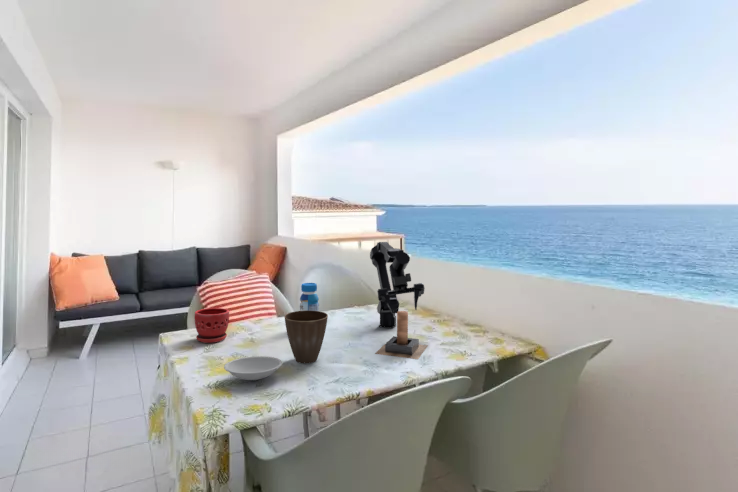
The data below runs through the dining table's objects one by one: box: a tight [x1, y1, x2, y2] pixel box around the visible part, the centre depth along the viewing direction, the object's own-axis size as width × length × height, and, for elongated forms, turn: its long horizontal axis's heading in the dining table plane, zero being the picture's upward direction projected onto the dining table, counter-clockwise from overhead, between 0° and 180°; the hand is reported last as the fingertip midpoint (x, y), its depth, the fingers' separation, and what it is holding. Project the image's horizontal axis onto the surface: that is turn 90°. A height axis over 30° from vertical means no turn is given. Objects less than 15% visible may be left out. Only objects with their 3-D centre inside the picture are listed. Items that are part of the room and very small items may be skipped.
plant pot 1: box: [194, 307, 230, 344], centre depth 173 cm, size 13×13×12 cm
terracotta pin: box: [396, 310, 409, 345], centre depth 158 cm, size 4×4×14 cm
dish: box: [223, 355, 283, 381], centre depth 133 cm, size 18×14×5 cm
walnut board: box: [374, 343, 429, 360], centre depth 158 cm, size 16×16×1 cm
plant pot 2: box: [284, 310, 329, 364], centre depth 149 cm, size 15×15×16 cm
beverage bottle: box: [299, 282, 320, 311], centre depth 188 cm, size 8×8×20 cm
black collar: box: [384, 335, 420, 355], centre depth 158 cm, size 10×10×3 cm
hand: (404, 311), depth 168 cm, fingers open, 9 cm apart
